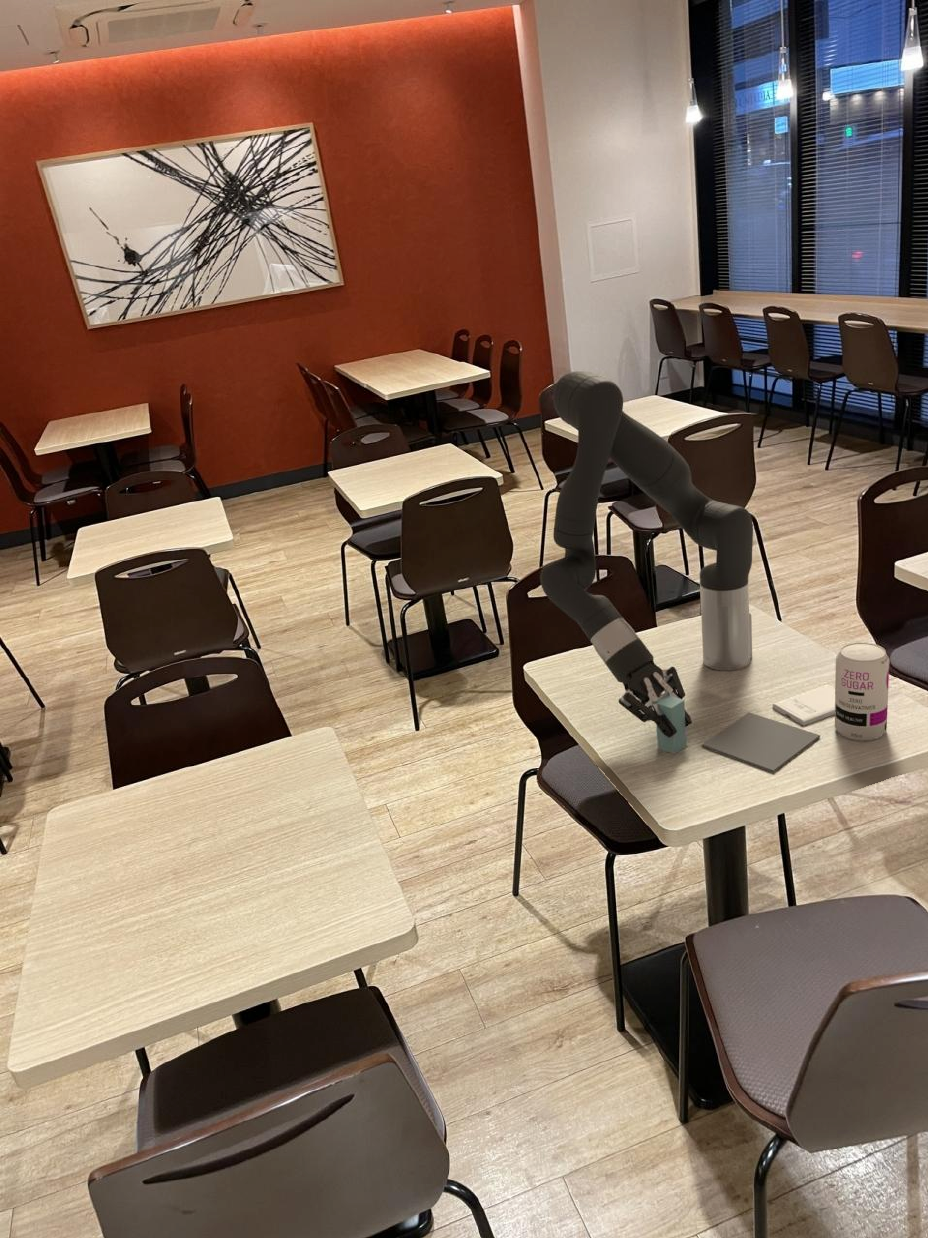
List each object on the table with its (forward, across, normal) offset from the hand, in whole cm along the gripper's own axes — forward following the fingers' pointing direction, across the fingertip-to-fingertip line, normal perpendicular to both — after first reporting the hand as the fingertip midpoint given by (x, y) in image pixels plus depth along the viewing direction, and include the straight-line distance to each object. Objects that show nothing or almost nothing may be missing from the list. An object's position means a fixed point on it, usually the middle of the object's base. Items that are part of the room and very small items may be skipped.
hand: (680, 729), depth 161 cm
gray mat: (+9, +10, -4) cm, 14 cm away
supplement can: (+17, +23, -11) cm, 31 cm away
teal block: (+1, 0, +4) cm, 5 cm away
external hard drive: (+10, +26, -4) cm, 28 cm away
